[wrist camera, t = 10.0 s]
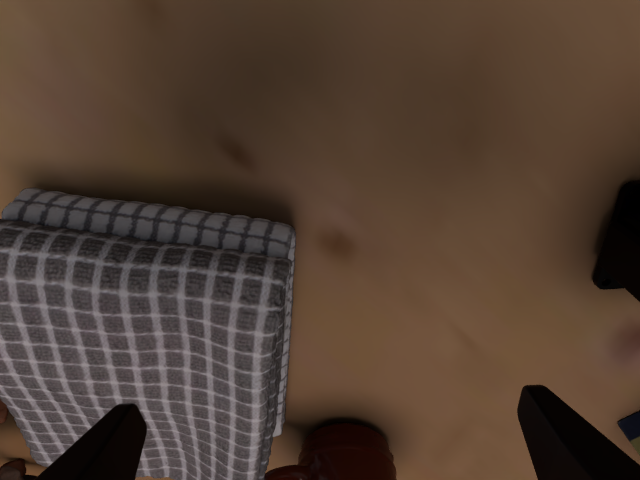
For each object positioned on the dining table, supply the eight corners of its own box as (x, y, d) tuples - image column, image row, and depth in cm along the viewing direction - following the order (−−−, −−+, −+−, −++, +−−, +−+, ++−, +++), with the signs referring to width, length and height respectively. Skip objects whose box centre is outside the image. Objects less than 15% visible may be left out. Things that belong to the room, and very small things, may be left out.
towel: (305, 204, 21) (292, 293, 14) (285, 417, 30) (272, 533, 23) (23, 174, 21) (-129, 251, 14) (89, 399, 30) (18, 512, 23)
